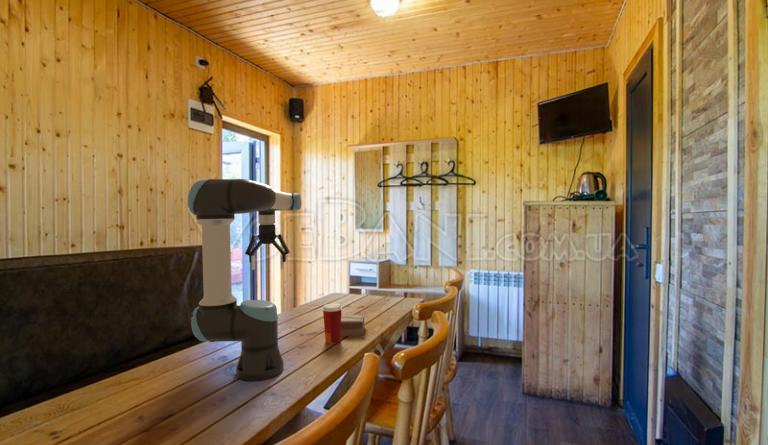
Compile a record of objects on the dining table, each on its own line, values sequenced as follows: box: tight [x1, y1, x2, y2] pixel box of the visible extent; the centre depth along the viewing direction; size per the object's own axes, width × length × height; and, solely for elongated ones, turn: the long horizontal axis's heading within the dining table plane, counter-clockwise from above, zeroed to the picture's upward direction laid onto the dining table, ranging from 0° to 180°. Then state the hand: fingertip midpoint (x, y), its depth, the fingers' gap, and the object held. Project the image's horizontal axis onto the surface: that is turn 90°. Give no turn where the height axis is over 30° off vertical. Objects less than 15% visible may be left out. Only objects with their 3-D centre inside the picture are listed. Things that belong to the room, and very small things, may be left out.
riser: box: [340, 314, 365, 337], centre depth 164 cm, size 12×12×6 cm
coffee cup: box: [321, 303, 343, 345], centre depth 151 cm, size 8×8×15 cm
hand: (267, 269), depth 171 cm, fingers open, 13 cm apart
